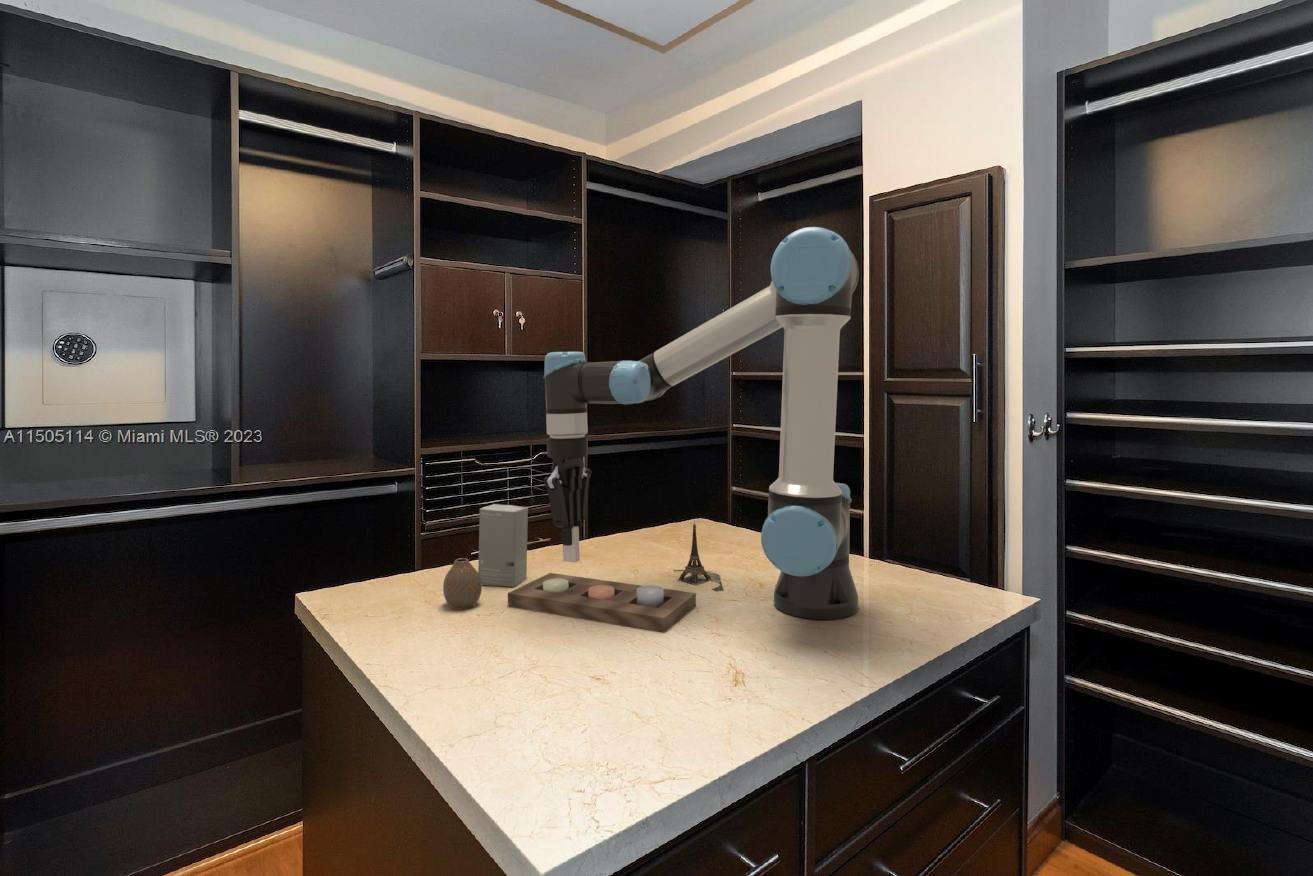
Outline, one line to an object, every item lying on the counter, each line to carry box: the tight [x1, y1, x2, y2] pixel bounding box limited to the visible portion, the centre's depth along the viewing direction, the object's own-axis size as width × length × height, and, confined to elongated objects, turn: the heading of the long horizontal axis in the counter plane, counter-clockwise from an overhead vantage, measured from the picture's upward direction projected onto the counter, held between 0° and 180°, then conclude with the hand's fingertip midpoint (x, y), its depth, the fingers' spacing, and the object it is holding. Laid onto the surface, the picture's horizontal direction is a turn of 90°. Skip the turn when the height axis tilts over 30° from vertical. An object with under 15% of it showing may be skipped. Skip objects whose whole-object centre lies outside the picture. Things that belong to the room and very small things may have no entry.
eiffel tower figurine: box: [673, 519, 725, 592], centre depth 143 cm, size 15×10×13 cm
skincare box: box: [477, 503, 529, 588], centre depth 143 cm, size 8×7×16 cm
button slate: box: [637, 584, 664, 608], centre depth 124 cm, size 5×5×3 cm
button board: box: [507, 572, 697, 633], centre depth 128 cm, size 32×14×2 cm, turn 65°
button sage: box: [543, 579, 569, 593], centre depth 133 cm, size 5×5×3 cm
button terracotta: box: [588, 585, 614, 600], centre depth 128 cm, size 5×5×3 cm
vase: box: [442, 557, 483, 610], centre depth 129 cm, size 7×7×9 cm
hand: (571, 560), depth 131 cm, fingers closed
